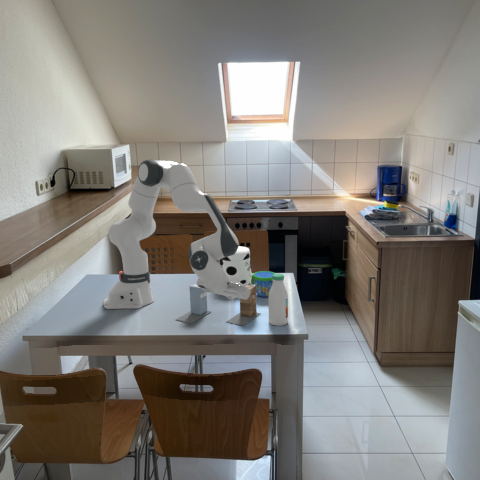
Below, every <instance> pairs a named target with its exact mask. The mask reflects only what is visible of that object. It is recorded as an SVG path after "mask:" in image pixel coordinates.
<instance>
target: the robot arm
mask: <svg viewBox="0 0 480 480" xmlns="http://www.w3.org/2000/svg"><path fill="white" fill-rule="evenodd" d="M161 189H168V190H169V194H170V197H171V200H172V202H173V204H174V206H175V207H176V209H178V210H179V211H182V212H186V213H207V214H208V215H209V217H210V218H211V221H212V223H213V224H214V226H215V227H216V229H217V230H216V232H214V233H212V234H210V235H207V236H205V237H201V238H200V239H198V240H196V241H193V242H191V243H190V245H189V248H188V252H187V254H188V255H187V256H188V260H189V265H190V267H191V269H192V271H193V273H194V274H195V276H197V280H196V282H195V283H196V285H197V286H198V287H200V288H201V289H202V290H203V291H205V292H207V293H210V294H215V295H220V296H224V297H226V298H227V299H229V300H234V301H235V300H236V299H239V300H240V299H244V300H247V299H248V298H249V296H250V290H249V289H248V288H247V287H246V286H245V285H243V284H242V283H239V282H233V281H230V277H229V275H228V274H227V273H226V272H225V270H224V269H223V268H222V267H220V265H219V259H222V258H224V257H228V256H231V255H234V254H235V253H236V251H237V249H238V247H239V246H240V243H239V239H238V238H237V236H236V234H235V233H234V232H233V230H232V229H231V227H230V225H229V224H228V222H227V221H226V219H225V217H224V216H223V214H222V212H221V210H220V209H219V206H218V205H217V204H216V202H215V200H214V199H213V198H212V197H211V195H209V194H208V193H204V192H203V191H201V190H200V188H199V185H198V182H197V180H196V178H195V176H194V174H193V172H192V170H191V169H190V167H189V166H188V165H187V164H186V163H185V164H184V163H182V162H176V161H171V160H168V159H167V160H163V159H160V160H159V159H157V160H156V159H155V160H154V159H145V160H143V161H141V162H140V165H139V166H138V169H137V177H136V179H135V180H134V183H133V186H132V189H131V193H130V196H129V199H128V202H127V205H128V207H129V208H130V210H131V214H130V215H129V217H127V218H123V219H121V220H117V221H116V222H114V223H112V224H111V225H110V227H109V228H108V233H107V234H108V236H107V237H108V238H109V240H110V242H111V243H112V244H113V245H114V246H116V247H117V249H118V250H119V253H120V255H121V260H122V267H123V268H122V270H123V271H122V270H120V271H119V272H118V277H119V280H118V282H116V283H115V284H114V285H113V286H111V287H110V289H109V291H108V293H107V297H106V298H105V299H104V301H103V308H104V309H107V310H112V309H113V310H117V309H118V310H119V309H120V310H121V309H123V310H124V309H141V308H142V307H144V306H147V305H149V304H150V305H151V304H152V303H153V302H154V301H155V298H154V296H153V292H152V287H151V271H150V270H149V259H148V258H149V257H148V253H147V252H146V251H145V250H143V249H142V247H141V244H140V241H142V240H144V239H147V238H149V237H151V236H152V235H153V234H154V233H155V231H156V229H157V224H156V221H155V219H154V211H155V206H156V203H157V200H158V197H159V194H160V191H161Z"/></svg>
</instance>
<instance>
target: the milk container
mask: <svg viewBox="0 0 480 480" xmlns="http://www.w3.org/2000/svg"><path fill="white" fill-rule="evenodd" d="M218 263H219V265H220V267H222V268H223V269H224V270H225V272H226V273H227V274H228V275H229V277H230V281H233V282H239V283H242V284H243V285H245V284H248V285H251V278H252V275H253V273H252V269H251V250H250V248H249V247H246V246H240V245H239V247H238V249H237V251H236V253H235V254H234V255H231V256H228V257H224V258H222V259H219V260H218Z"/></svg>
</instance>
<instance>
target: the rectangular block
mask: <svg viewBox="0 0 480 480" xmlns="http://www.w3.org/2000/svg"><path fill="white" fill-rule="evenodd" d="M196 283H197V282H195V283H193V284H191V285H189V300H190V302H189V303H190V304H189V305H190V306H189V307H190V311H191V313H194V314H198V315H201V314H203V313H205V312H207V311H208V299H207V298H208V296H207V295H208V294H207V293H208V292H205V291H203V290H202V289H201V288H200V287H198V286H197V285H196Z"/></svg>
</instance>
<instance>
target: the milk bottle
mask: <svg viewBox="0 0 480 480" xmlns="http://www.w3.org/2000/svg"><path fill="white" fill-rule="evenodd" d="M272 280H273V284H272V287H271V289H270V292H269V297H268V322H269V324H270V325H272V326H274V327H275V326H276V327H277V326H278V327H279V326H282V327H283V326H285V325H286V324H288V322H289V296H288V290H287V288H286V286H285V283H284V281H285V275H284V274H282V273H275V274H273V275H272Z"/></svg>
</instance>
